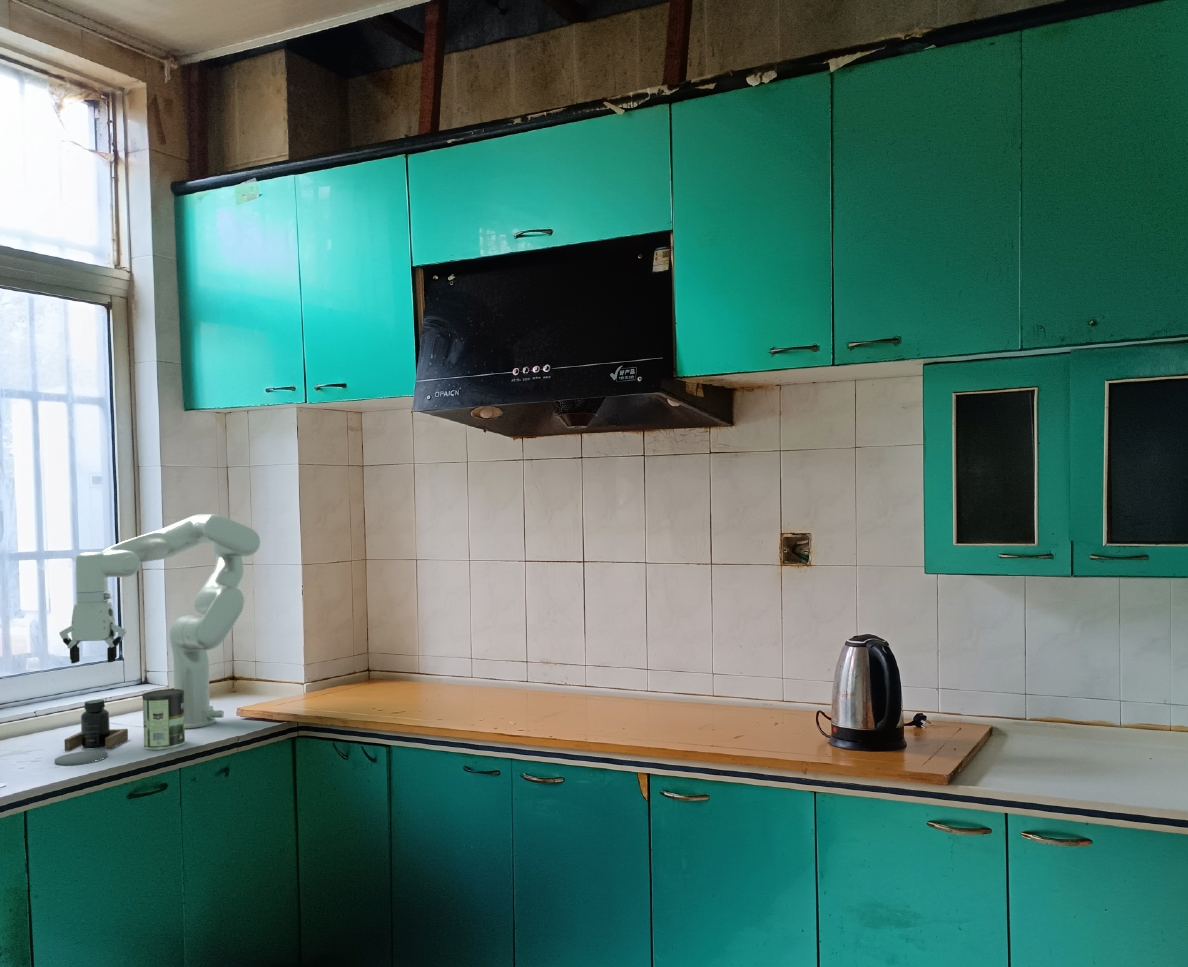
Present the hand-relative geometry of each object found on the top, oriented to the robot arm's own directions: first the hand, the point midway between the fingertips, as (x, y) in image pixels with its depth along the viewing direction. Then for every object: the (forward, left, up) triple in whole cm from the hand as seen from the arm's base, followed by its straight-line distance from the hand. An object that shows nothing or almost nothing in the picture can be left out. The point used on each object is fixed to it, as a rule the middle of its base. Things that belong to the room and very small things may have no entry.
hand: (93, 662), depth 268 cm
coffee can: (-19, +2, -23) cm, 30 cm away
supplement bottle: (0, 0, -23) cm, 23 cm away
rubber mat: (-3, +14, -22) cm, 27 cm away
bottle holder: (0, 0, -22) cm, 22 cm away
